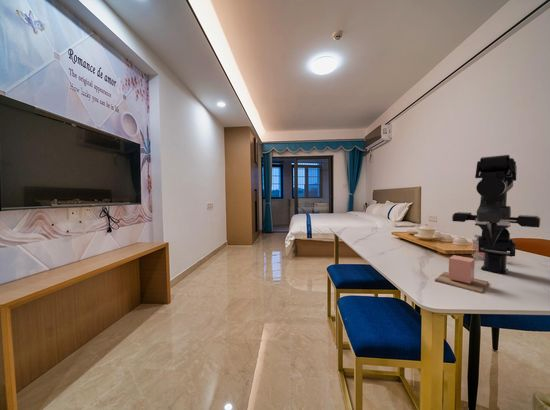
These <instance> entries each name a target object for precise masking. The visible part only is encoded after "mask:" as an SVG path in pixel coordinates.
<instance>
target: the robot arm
mask: <svg viewBox="0 0 550 410" xmlns="http://www.w3.org/2000/svg"><path fill="white" fill-rule="evenodd" d="M510 156H511V155H510V154H503V155H491V156H483V157H481V158H480V159H479V161H477V163H476V169H475V175H474V178H475V179H480V181H478V183H477V184H476V187H475V189H476V192H477V193H478V194H479V195H480V200H479V201H480V202H479V203H480V204H479V206H478V208H477V210H476V214H472V212H466V211H465V212H463V211H461V212H460V211H458V212H454V213H453V214H452V216H451V219H452V222H458V223H465V222H466V221H475V223H474V226H475V227H477V226H478V227H479V228H480V229H481V235H480V236H479V252H482V253H484V261H483V265H482V266H481V267H480V270H483V271H487V272H493V273H498V274H503V275H508V272H509V268H507V259H508V258H507V257H509V258H513V257H516V243H515V242H514V241H513V240H514V239H513V238H511V233H510V232H509V230H508V228H510V227H511V224H518V225H519V226H520V227H525V228H540V227H541V217H540V216H538V215H528V214H527V215H526V214H524V215H523V214H519V215H517V216H512V210H511V206H510V205H507V204H508V203H507V199H508V192H509V191H511V189H513V188H514V182H516V181H517V171H518V170H517V169H518V168H517V162H516V161H515V159H514V158H513V157H510ZM482 248H483V249H482Z"/></svg>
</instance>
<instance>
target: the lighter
mask: <svg viewBox="0 0 550 410" xmlns="http://www.w3.org/2000/svg"><path fill="white" fill-rule="evenodd" d="M479 236H481V235H479V234H474V238H476V239H472V240H471V241H472V250H473V249H475V250H476V253H474V254H472V253H471V257H472V256H473V257H472V258H473V259H477V260H480V261H483V262H484V253H482V252H479ZM482 249H483V248H482Z"/></svg>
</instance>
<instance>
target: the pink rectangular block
mask: <svg viewBox="0 0 550 410" xmlns="http://www.w3.org/2000/svg"><path fill="white" fill-rule="evenodd" d="M475 262H476V258H474V257H472V258H471V257H467V256H466V257H465V256H460V255H455V254H453V255H452V256H450V257H448V273H449V277H448V278H449V279H453V280H457V281H461V282H465V283H469V284H470V283H471V282H472V281H473V280H474V278H475V264H476V263H475Z"/></svg>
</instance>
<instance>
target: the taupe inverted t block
mask: <svg viewBox="0 0 550 410" xmlns="http://www.w3.org/2000/svg"><path fill="white" fill-rule="evenodd" d="M448 277H449V271H448V272H447V271H444V272H443V273H441V274H440V275H439V276H438V277H435V278H434V282H437V283H442V284H445V285H449V286H451V287H452V286H453V287H456V288H461V289H464V290H468V291H473V292H476V293H480V294H482V293H483V292H484V291H485V289H486V288H487V286H488V285H489V281H488V280H483V279H479V278H475V277H474V280H473V281H472V282H471V283H470V284H469V283H465V282H461V281H457V280H453V279H449V278H448Z"/></svg>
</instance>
